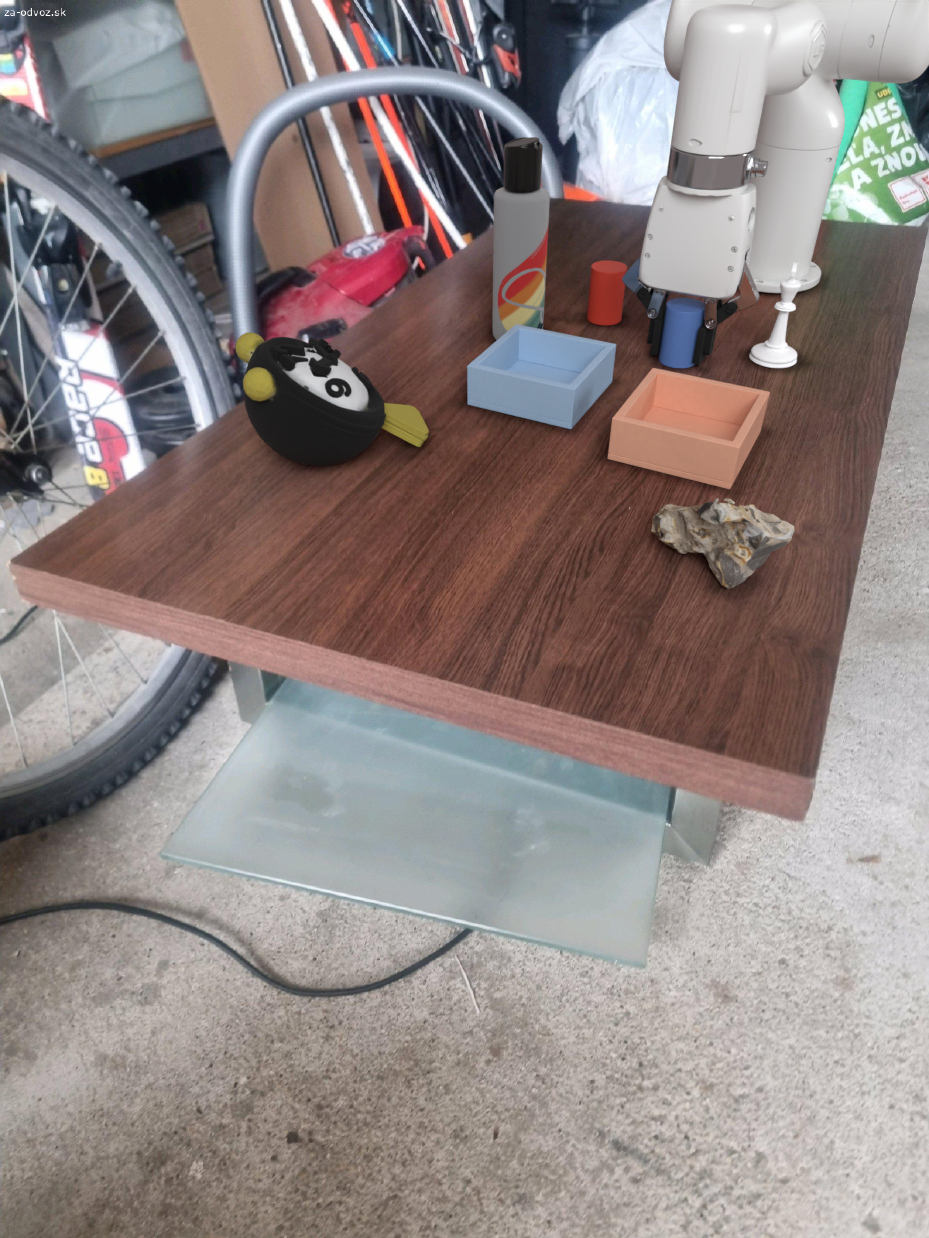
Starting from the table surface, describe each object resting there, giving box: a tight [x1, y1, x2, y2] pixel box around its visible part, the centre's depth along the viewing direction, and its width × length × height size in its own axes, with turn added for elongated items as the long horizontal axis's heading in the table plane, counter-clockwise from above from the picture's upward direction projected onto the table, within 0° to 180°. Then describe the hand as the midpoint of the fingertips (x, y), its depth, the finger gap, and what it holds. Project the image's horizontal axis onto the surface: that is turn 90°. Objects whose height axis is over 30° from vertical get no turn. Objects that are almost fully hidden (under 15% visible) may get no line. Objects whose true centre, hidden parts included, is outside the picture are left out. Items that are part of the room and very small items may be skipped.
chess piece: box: [748, 262, 801, 369], centre depth 89 cm, size 5×5×10 cm
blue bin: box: [466, 324, 617, 430], centre depth 86 cm, size 11×11×4 cm
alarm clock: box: [235, 331, 430, 467], centre depth 75 cm, size 12×15×15 cm
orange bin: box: [607, 367, 771, 490], centre depth 78 cm, size 11×11×4 cm
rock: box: [650, 497, 795, 590], centre depth 64 cm, size 9×7×10 cm
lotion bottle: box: [492, 136, 551, 341], centre depth 91 cm, size 6×6×20 cm
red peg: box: [586, 259, 628, 326], centre depth 99 cm, size 4×4×6 cm
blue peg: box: [658, 297, 705, 369], centre depth 91 cm, size 4×4×6 cm
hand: (678, 354), depth 92 cm, fingers closed on blue peg, 4 cm apart
